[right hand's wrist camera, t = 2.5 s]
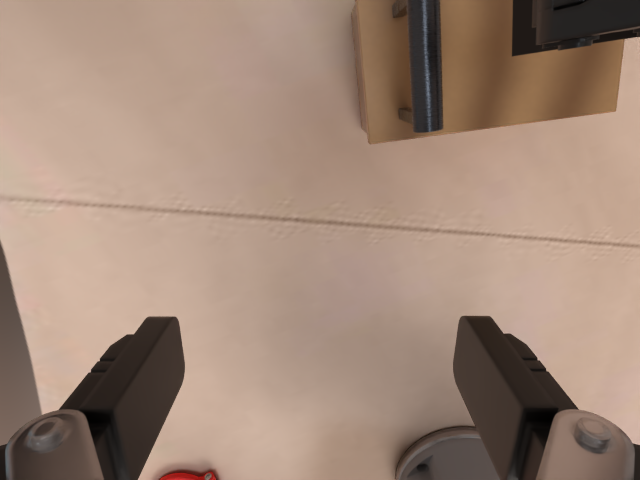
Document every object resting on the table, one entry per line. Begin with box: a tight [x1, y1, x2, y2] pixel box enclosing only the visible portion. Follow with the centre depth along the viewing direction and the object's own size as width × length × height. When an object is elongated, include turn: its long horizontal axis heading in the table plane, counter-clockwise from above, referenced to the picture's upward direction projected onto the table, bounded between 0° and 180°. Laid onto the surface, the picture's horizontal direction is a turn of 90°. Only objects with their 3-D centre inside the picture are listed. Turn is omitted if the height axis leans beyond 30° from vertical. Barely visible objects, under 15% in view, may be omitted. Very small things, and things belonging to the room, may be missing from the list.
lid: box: [356, 0, 624, 144], centre depth 22 cm, size 16×9×8 cm, turn 98°
